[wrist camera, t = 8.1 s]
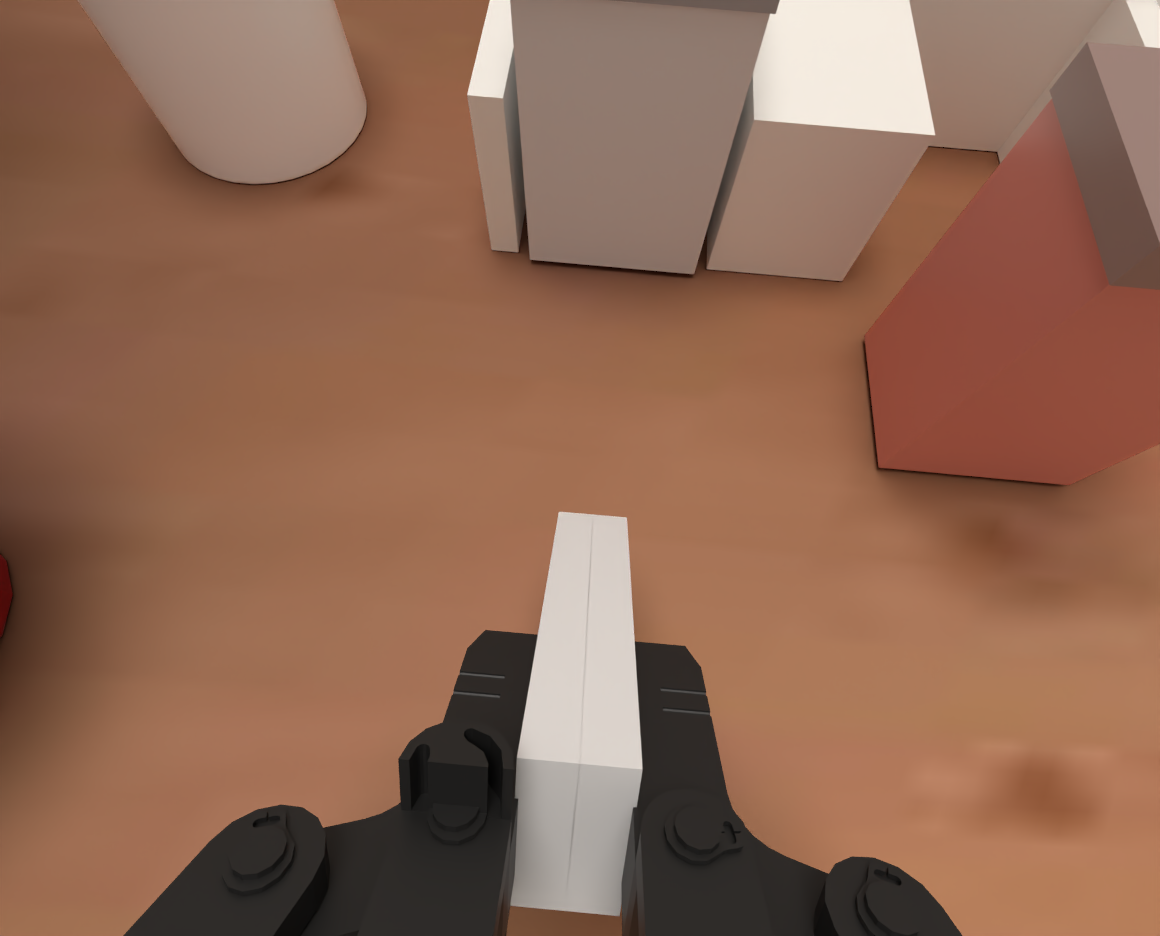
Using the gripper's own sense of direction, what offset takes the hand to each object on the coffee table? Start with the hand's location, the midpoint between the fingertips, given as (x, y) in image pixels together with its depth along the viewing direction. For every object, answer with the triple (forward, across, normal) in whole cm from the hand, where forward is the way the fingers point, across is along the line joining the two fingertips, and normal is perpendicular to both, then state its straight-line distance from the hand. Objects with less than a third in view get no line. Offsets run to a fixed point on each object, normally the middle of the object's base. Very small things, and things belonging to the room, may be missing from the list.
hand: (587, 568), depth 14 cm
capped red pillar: (+8, +12, +2) cm, 15 cm away
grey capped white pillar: (+13, 0, +7) cm, 15 cm away
